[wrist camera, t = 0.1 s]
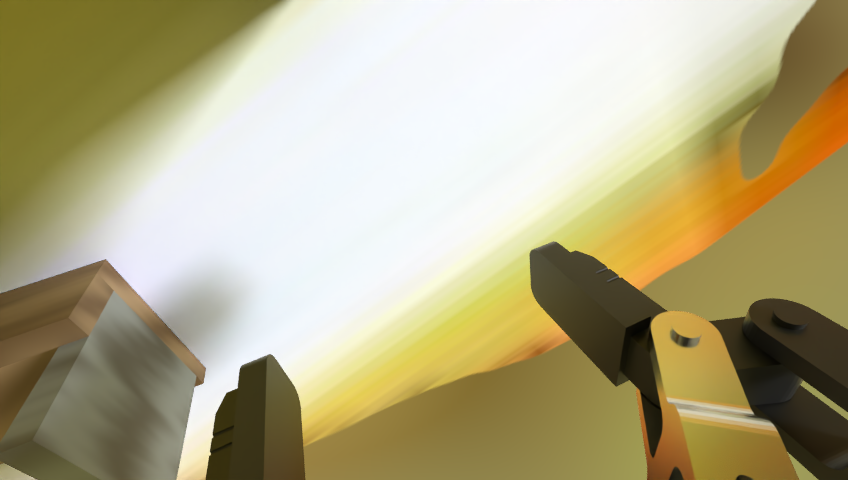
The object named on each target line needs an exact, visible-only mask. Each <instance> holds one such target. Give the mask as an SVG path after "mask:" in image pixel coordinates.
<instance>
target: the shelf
mask: <svg viewBox="0 0 848 480" xmlns="http://www.w3.org/2000/svg"><path fill="white" fill-rule="evenodd" d="M205 371H206V368H205V367H204V366H203V365H202V364H201V363H200V362H199V360H198V359H197V358H196V357H195V356H194V355H193V354H192V353H191V352H190V351H189V350H188V348H187V347H186V346H185V345H184V344H183V343H182V342H181V341H180V340H179V339H178V338H177V336H176V335H175V334H174V333H173V332H172V331H171V330H170V329H169V328H168V327H167V326H166V324H165V323H164V322H163V321H162V320H161V319H160V318H159V317H158V316H157V315H156V314H155V313H154V311H153V310H152V309H151V308H150V307H149V306H148V305H147V304H146V303H145V302H144V301H143V299H142V298H141V297H140V296H139V295H138V294H137V293H136V292H135V291H134V290H133V289H132V287H131V286H130V285H129V284H128V283H127V282H126V281H125V280H124V279H123V278H122V277H121V275H120V274H119V273H118V272H117V271H116V270H115V269H114V268H113V267H112V266H111V265H110V263H109V262H108V261H107V260H106V259H105V260H102V261H99V262H96V263H93V264H90V265H87V266H84V267H81V268H78V269H75V270H72V271H69V272H66V273H63V274H60V275H56V276H53V277H50V278H47V279H44V280H41V281H38V282H35V283H32V284H29V285H26V286H23V287H20V288H17V289H14V290H11V291H8V292H4V293H1V294H0V464H2V463H5V464H7V465H9V466H11V467H13V468H15V469H17V470H19V471H21V472H23V473H25V474H27V475H29V476H31V477H33V478H35V479H37V480H176V479H177V474H178V468H179V463H180V458H181V453H182V448H183V443H184V438H185V433H186V427H187V422H188V417H189V412H190V407H191V402H192V397H193V392H194V387H195V386H198V385H200V384H203V383H204V377H205Z"/></svg>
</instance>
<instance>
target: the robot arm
mask: <svg viewBox="0 0 848 480" xmlns="http://www.w3.org/2000/svg"><path fill="white" fill-rule="evenodd" d="M530 274H531V289H532V292H533V295H534V297H535V299H536V301H537V302H538V304H539V305H540V306H541V307H542V308H543V309H544V310H545V311H546V313H547V314H548V315H549V316H550V317H551V318H552V319H553V320H554V321H555V322H556V323H557V324H558V325H559V326H560V327H561V329H562V330H563V331H564V332H565V333H566V334H567V335H568V336H569V337H570V338H571V339H572V340H573V341H574V342H575V343H576V345H578V347H579V348H580V349H581V350H582V351H583V352H584V353H585V354H586V355H587V356H588V357H589V358H590V359H591V360H592V362H593V363H594V364H595V365H596V366H597V367H598V368H599V369H600V370H601V371H602V372H603V373H604V374H605V375H606V377H607V378H608V379H609V380H610V381H611V382H612V383H613V384H614V385H615V386H618V385H620V384H622V383H624V382H626V381H628V380H630V381H631V382H632V383H633V384H634V385H635V386H636V387H637V390H636V396H637V403H638V409H639V416H640V422H641V428H642V434H643V441H644V448H645V454H646V461H647V480H799V478H798V476H797V474H796V471H795V469H794V467H793V464H792V462H791V460H790V457H789V455H788V453H789V454H791V455H792V456H793V457H794V458H795V459H796V460H797V461H799V463H801V464H802V465H803V466H804V467H805V468H806V469H807V470H808V471H809V472H811V473H812V474H813V475H814V476H815V477H816V478H817V479H819V480H848V420H847V419H845V418H844V417H843V416H841V415H840V414H839V413H837V412H836V411H835V410H833V409H832V408H830V407H829V406H828V405H826V404H825V403H824V402H822V401H821V400H820V399H818V398H817V397H815V396H814V395H813V394H812V393H810V392H809V391H807V390H806V389H805V388H803V387H802V386H801V385H800V384H801V383H802V381H803V380H804V381H805V382H807V383H808V384H810V385H811V386H813V387H814V388H815V389H817V390H818V391H819V392H821V393H822V394H823V395H825V396H826V397H827V398H829V399H830V400H832V401H833V402H834V403H836V404H837V405H838V406H840V407H841V408H843V409H844V410H846V411H847V412H848V330H847V329H846V328H844V327H842V326H840V325H839V324H837V323H835V322H833V321H832V320H830V319H828V318H826V317H825V316H823V315H821V314H820V313H818V312H816V311H814V310H812V309H810V308H809V307H806V306H804V305H802V304H799V303H796V302H792V301H788V300H783V299H762V300H759V301H756V302H754V303H753V304H752V305H751V306H750V308H749V310H748V312H747V315H746V317H740V318H732V319H724V320H716V321H707V320H705V319H704V318H702V317H700V316H697V315H695V314H691V313H688V312H682V311H667V310H665V309H664V308H662V307H661V306H660V305H658V304H657V303H655V302H654V301H653V300H651V299H650V298H649V297H647V296H646V295H645V294H643V293H642V292H640V291H639V290H638V289H636V288H635V287H634V286H632V285H631V284H630V283H628V282H627V281H626V280H624V279H623V278H619V276H618V275H617V274H616V273H615V272H613V271H612V270H611V269H608V268H607V267H606V266H605V265H604V264H602V263H601V262H600V261H598V260H597V259H596V258H594V257H592V256H590V255H587V254H584V253H581V252H578V251H573V252H571V253H570V252H569V251H568V250H566V249H565V248H564V247H563V246H561V245H560V244H559V243H557V242H551V243H548V244H546V245H543V246H541V247H538V248H536V249H533V250H531V252H530ZM213 436H214V437H213V438H212V442H211V448H210V452H211V455H210V456H209V461H208V468H207V474H206V480H305V468H304V453H303V436H302V421H301V407H300V401H299V397H298V394H297V391H296V389H295V387H294V385H293V384H292V382H291V381H290V379H289V378H288V376H287V375H286V373H285V372H284V371H283V369H282V368H281V366H280V365H279V363H278V362H277V360H276V359H275V358H274V356H273V355H271V354H269V355H267V356H264V357H262V358H259V359H257V360H254V361H252V362H249V363H247V364H244V365H242V366H241V368H240V372H239V381H238V389H235V390H233V391H230V392H228V393H226V395H225V397H224V399H223V401H222V403H221V405H220V407H219V409H218V411H217V413H216V416H215V422H214V429H213ZM787 452H788V453H787Z"/></svg>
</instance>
